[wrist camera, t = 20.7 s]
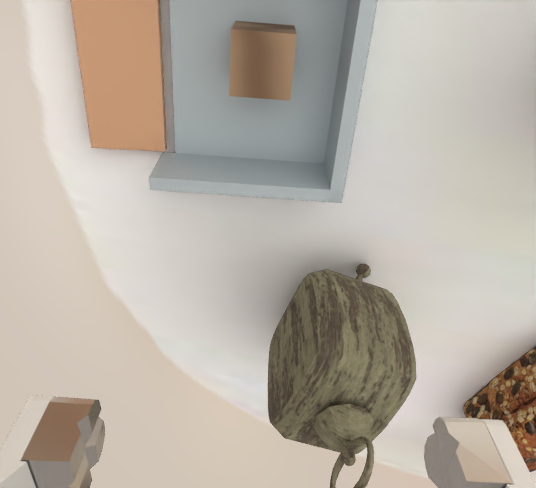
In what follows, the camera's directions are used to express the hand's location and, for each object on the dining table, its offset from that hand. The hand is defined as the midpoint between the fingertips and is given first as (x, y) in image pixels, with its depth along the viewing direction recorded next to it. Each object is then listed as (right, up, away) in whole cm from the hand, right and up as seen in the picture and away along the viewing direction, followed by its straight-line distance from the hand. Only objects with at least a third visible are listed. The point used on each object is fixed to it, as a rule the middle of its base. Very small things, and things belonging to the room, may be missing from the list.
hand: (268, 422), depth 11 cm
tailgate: (-9, +22, +29) cm, 37 cm away
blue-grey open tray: (-1, +22, +30) cm, 37 cm away
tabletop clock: (+7, -1, +45) cm, 46 cm away
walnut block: (0, +21, +29) cm, 36 cm away
